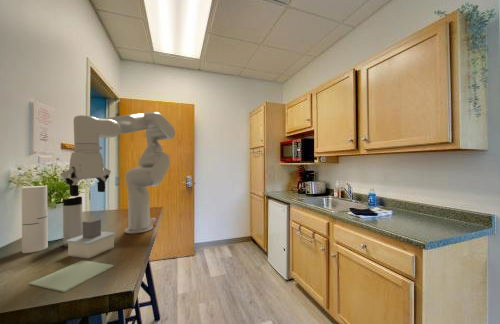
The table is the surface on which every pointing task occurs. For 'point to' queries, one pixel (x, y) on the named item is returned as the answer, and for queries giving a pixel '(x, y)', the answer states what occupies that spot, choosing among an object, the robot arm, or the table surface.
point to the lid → (91, 233)
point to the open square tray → (90, 248)
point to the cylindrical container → (34, 219)
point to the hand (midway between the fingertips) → (88, 193)
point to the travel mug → (72, 218)
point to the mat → (71, 275)
